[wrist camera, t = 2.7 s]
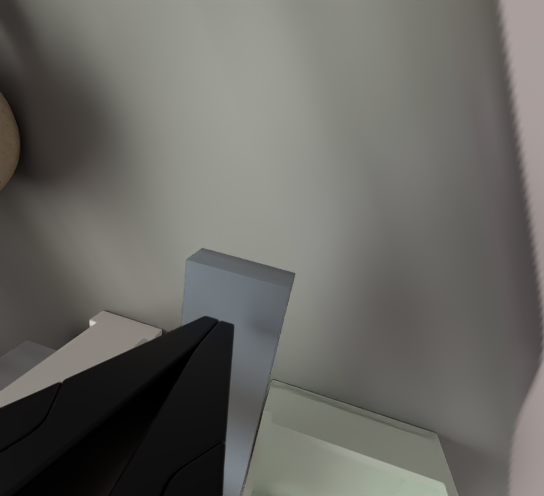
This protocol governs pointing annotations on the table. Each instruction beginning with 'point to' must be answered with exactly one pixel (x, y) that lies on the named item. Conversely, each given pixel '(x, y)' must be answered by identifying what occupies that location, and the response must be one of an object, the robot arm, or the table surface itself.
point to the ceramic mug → (8, 142)
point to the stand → (82, 353)
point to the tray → (341, 451)
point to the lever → (246, 347)
